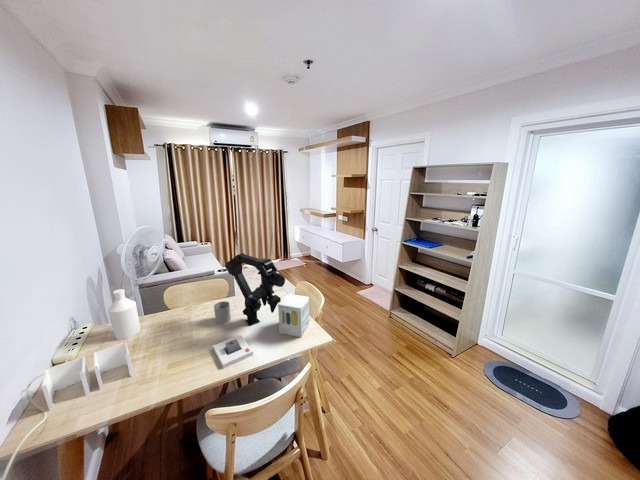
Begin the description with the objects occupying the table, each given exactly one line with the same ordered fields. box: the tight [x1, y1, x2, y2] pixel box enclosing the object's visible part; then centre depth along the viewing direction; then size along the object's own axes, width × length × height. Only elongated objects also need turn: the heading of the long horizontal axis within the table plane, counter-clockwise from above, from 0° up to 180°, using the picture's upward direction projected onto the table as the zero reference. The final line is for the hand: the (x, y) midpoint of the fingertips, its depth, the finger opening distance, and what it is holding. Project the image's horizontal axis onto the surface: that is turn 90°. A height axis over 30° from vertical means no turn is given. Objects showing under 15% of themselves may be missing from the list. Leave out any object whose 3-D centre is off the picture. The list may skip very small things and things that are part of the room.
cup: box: [213, 301, 232, 325], centre depth 147 cm, size 8×8×10 cm
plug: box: [225, 339, 240, 355], centre depth 121 cm, size 4×5×6 cm
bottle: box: [107, 288, 142, 340], centre depth 133 cm, size 12×12×25 cm
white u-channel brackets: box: [41, 341, 134, 411], centre depth 102 cm, size 25×11×11 cm, turn 131°
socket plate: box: [212, 334, 254, 369], centre depth 121 cm, size 16×14×2 cm
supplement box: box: [277, 293, 311, 338], centre depth 138 cm, size 13×13×18 cm
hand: (268, 308), depth 138 cm, fingers open, 9 cm apart
